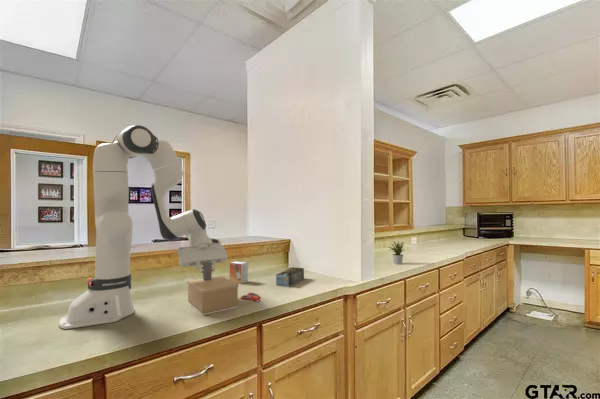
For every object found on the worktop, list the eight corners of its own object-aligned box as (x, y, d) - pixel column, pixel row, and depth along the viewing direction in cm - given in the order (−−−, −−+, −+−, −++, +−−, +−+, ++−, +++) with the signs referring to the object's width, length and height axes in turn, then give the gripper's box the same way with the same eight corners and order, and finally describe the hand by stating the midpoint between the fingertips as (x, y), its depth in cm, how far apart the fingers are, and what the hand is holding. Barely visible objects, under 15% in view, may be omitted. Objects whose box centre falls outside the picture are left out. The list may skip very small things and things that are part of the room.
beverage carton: (275, 286, 150) (275, 273, 150) (291, 277, 167) (291, 266, 167) (289, 287, 146) (289, 274, 147) (304, 279, 164) (304, 267, 164)
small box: (229, 282, 156) (229, 262, 157) (236, 280, 161) (236, 260, 162) (241, 284, 153) (241, 263, 153) (247, 281, 158) (247, 262, 158)
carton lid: (201, 293, 108) (201, 271, 109) (187, 283, 123) (187, 264, 124) (238, 286, 117) (238, 266, 117) (220, 278, 132) (220, 260, 132)
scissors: (267, 310, 115) (267, 306, 115) (237, 298, 130) (237, 295, 130) (282, 305, 120) (282, 301, 120) (252, 295, 135) (252, 291, 135)
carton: (202, 315, 109) (202, 293, 109) (188, 302, 123) (188, 283, 123) (237, 307, 117) (237, 287, 117) (220, 296, 131) (220, 278, 132)
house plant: (395, 260, 217) (394, 238, 218) (412, 263, 207) (412, 240, 207) (383, 263, 208) (383, 240, 209) (401, 266, 198) (401, 241, 198)
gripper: (177, 243, 125) (183, 270, 117) (223, 239, 137) (232, 264, 129) (174, 252, 128) (180, 279, 120) (220, 248, 141) (228, 272, 132)
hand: (207, 271), depth 125 cm, fingers closed on carton lid, 3 cm apart
